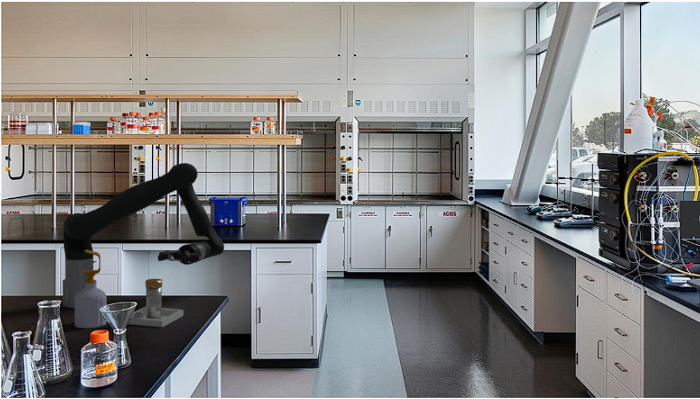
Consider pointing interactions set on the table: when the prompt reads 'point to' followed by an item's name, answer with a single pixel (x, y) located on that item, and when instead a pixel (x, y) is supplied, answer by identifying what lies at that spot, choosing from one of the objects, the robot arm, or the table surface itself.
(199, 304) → the table surface
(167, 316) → the tray
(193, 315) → the table surface
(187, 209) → the robot arm
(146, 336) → the table surface
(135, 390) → the table surface
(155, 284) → the shaker
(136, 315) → the ball
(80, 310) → the soap bottle
